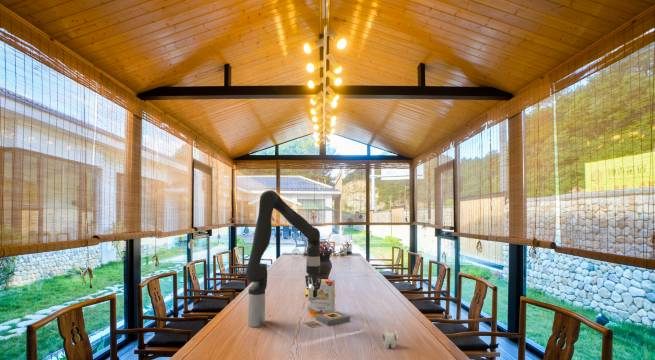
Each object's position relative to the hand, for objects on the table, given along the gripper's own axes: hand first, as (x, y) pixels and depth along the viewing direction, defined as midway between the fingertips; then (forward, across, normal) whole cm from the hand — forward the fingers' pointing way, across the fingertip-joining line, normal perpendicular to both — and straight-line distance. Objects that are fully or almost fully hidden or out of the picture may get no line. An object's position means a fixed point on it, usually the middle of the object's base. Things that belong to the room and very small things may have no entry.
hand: (312, 295), depth 203 cm
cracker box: (+17, -17, +17) cm, 29 cm away
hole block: (+17, 0, +13) cm, 21 cm away
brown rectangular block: (+17, 0, 0) cm, 17 cm away
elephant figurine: (+17, +43, +16) cm, 49 cm away
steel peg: (+2, 0, 0) cm, 2 cm away
